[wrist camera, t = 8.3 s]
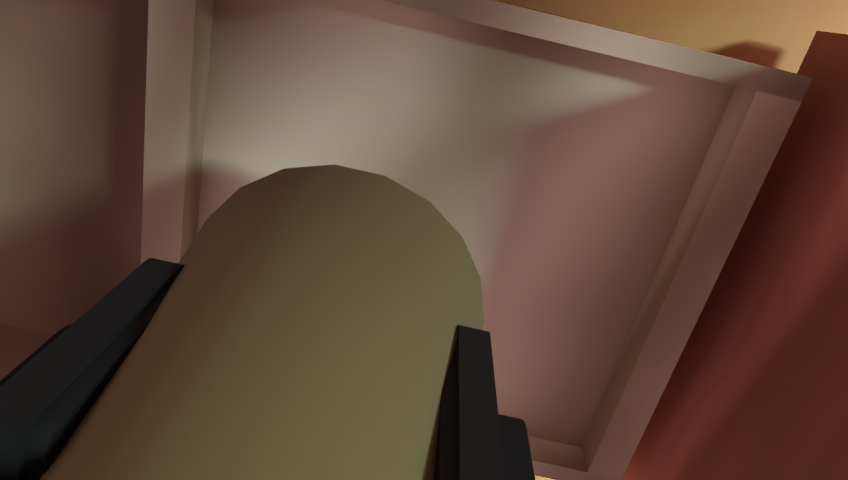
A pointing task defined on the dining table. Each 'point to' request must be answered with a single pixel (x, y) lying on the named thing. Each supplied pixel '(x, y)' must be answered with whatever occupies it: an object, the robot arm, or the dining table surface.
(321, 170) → the olive green pawn
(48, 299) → the caddy
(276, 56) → the drawer
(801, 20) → the dining table surface
